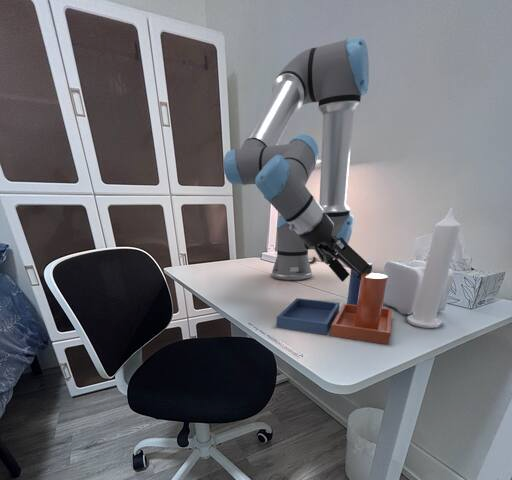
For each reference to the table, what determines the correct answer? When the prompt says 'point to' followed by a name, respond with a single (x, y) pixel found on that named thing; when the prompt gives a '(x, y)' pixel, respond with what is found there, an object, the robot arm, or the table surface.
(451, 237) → the candle
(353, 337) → the terracotta tray
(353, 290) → the blue pillar
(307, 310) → the blue tray
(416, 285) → the cable organizer
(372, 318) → the terracotta pillar
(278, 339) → the table surface
